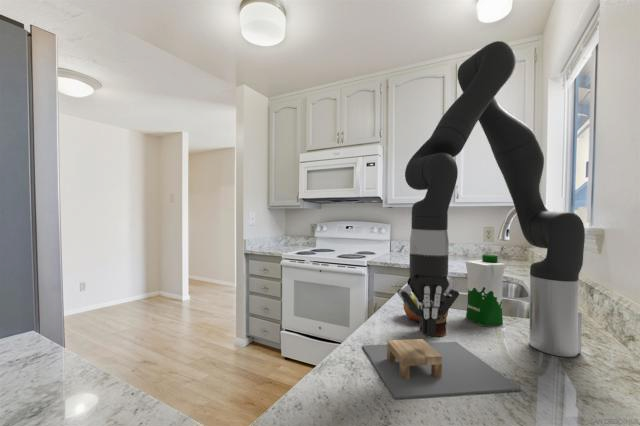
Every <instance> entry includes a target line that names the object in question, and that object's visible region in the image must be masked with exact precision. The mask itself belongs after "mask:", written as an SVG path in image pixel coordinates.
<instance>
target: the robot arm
mask: <svg viewBox="0 0 640 426" xmlns="http://www.w3.org/2000/svg"><path fill="white" fill-rule="evenodd" d="M516 66H517V57H516V53H515V51H514V49H513V47H511V45H509V43H506V42H505V41H500V40H498V41H492V42H490V43H488V44H486V45H485V46H483V47H482V48H480V49H479V50H478V51H477V52H475V53H474V54H473V55H471V56H469V58H467V59H465V61H463V62H462V63H461V64H460V65H459V67H458V69H457V81H458V84H459V87H460V89H461V92H462V93H461V94H460V95H459V97H458V98H457V99H456V100H455V101H454V102H453V103H452V104H451V106H449V107H448V109H447V110H446V112H445V113H443V115H442V117H441V118H440V120H439V121H438V123H437V125H436V127H435V129H434V130H433V132H432V134H431V136H430V137H428V139H427V140H426V141H425V142H424V143H423V144H422V145H421V146H420V147H419V149H418V150H417V151H416V152H414V154H413V155H412V156H411V157H410V159H409V161H408V163H407V164H406V168H405V172H404V180H405V182H406V184H407V185H408V187H410V188H411V189H413V190H416V191H425V190H426V194H425V195H424V198H423V199H421V200H418V201H416V202H415V203H414V204H413V205H412V207H411V231H410V237H409V267H408V269H409V270H408V272H409V278H408V279H407V285H406V286H404V287H403V288H402V289H401V288H399V289H397V294H398V296H399V297H400V299H401V300H402V301H403V304H404V303H405V304H406V305H407V307H408V308H409V310H410V311H411V312H412V313H414V314H415V315H416V316H419V317H420V322H419V328H418V330H419V331H420V333H421V334H422V335H423V336H424V337H426V338H433V337H434V335H433V334H435V332H436V318H437V317H438V316H440V315H442V316H443V315H445V314H446V312H447V311H448V312H449V311H450V308H451V307H452V306H453V304H454V303H455V301H456V300H457V298H459V296H460V292H459V291H457V290H456V289H454V288H452V287H451V286H450V282H449V280H448V275H449V250H450V248H449V246H450V244H449V243H450V242H449V235H448V234H449V233H448V226H449V225H448V224H449V223H448V220H449V219H448V217H449V216H448V211H449V207H450V204H451V202H452V197H453V194H454V191H455V187H456V186H457V180H458V175H459V174H458V171H459V170H458V166H457V163H456V160H455V159H454V157H457V156H458V155H459V154H461V152H462V150H463V148H464V147H465V145H466V143H467V141H468V139H469V137H470V136H471V133H472V132H473V131H474V128H475V126H476V124H477V123H478V122H479V124H480V127H481V128H482V131H483V132H484V135H485V137H486V140H487V142H488V144H489V146H490V149H491V152H492V154H493V157H494V160H495V161H496V164H497V166H498V168H499V170H500V172H501V175H502V177H503V179H504V182H505V184H506V186H507V189H508V193H509V194H510V198H511V200H512V202H513V206H514V208H515V211H516V212H515V213H516V216H517V219H518V223H519V226H520V229H521V232H522V235H523V236H524V239H525V240H526V242H528V243H529V245H531V246H533V247H536V248H540V249H546V250H547V251H546V256H545V258H544V259H543V260H540V261H537V262H533V263H531V264H530V267H529V325H528V326H529V327H528V328H529V329H528V330H529V332H528V333H529V334H528V335H529V338H528V339H529V346H531V347H532V348H534V349H536V350H537V351H539V352H542V353H545V354H549V355H552V356H557V357H562V358H563V357H564V358H573V357H577V356H578V354H582V331H583V330H582V328H583V327H582V323H583V322H582V319H583V318H582V315H583V313H582V312H581V311H580V310H579V278H580V277H579V275H580V273H581V271H582V268H583V263H584V254H585V253H584V251H585V239H586V238H585V237H586V235H585V234H586V232H585V226H584V223H583V222H584V221H583V220H582V218H581V217H580V215H578V214H577V213H574V212H572V211H559V210H558V211H548V210H547V208H546V206H545V204H544V202H543V198H542V196H541V193H540V184H541V179H542V176H543V170H544V165H545V158H544V152H543V150H542V148H541V145H540V143H539V141H538V138H537V136H536V132H534V130H533V129H532V128H531V127H529V126H528V125H527V124H526V123H525V122H523V121H522V120H520V119H518V118H517V117H515V116H513V115H512V114H510V113H509V112H507V111H506V110H505V109H504V108H503V107H502V106H501V105H500V103H499V102H498V100H497V98H496V95H497V94H498V93H499V91H500V90H501V89H502V88H503V87H504V85H506V84H507V82H508V80H509V79H510V78H511V77H512V76H513V74H514V72H515V69H516V68H517V67H516ZM412 294H414V295H415V297H416V299H417V304H418V307H417V306H416V304H415V303H414V302H413V300H412V299H411V297H412ZM443 294H444V295H443ZM442 295H443V296H442ZM441 297H442V298H441ZM440 298H441V299H440Z"/></svg>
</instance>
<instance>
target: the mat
mask: <svg viewBox="0 0 640 426" xmlns="http://www.w3.org/2000/svg"><path fill="white" fill-rule="evenodd" d="M426 343H427V344H429V345H430V346H431V347H432V348H433V349H434V350H435V351H437V352H438V353H439V354H440V355H441V356H442V377H436V378H435V377H434V376H433V375H432V374H431V365H415V366H410V367H409V379H402V378H401V377H400V376H399V365H400V362H399V361H398V360H397V359H396V362H389V361H388V360H387V344H386V343H385V344H363V345H362V349H363V350H364V351H365V353H366V355H367V356H368V358H369V360H370V362H371V363H372V365H373V366H374V368H375V369H376V371H377V372H378V375H379V376H380V377H381V379H382V381H383V383H384V384H385V385H386V387H387V389H388V390H389V392H390V394H391V395H392V396H393V399H394V400H401V399H414V398H415V399H417V398H431V397H446V396H448V397H449V396H461V395H476V394H491V393H492V394H493V393H505V392H507V393H508V392H520V391H522V388H521V387H519V386H518V385H517V384H516V383H514V382H513V381H512V380H510V379H509V378H507V377H506V376H504V375H503V374H501V373H500V372H499V371H498V370H496V369H495V368H494V367H492V366H491V365H489V364H488V363H487V362H485V361H483V360H482V359H481V358H479V357H478V356H476V355H475V354H474V353H472V352H471V351H470V350H468V348H466V347H464V346H463V345H461V344H460V343H458V342H457V341H443V342H441V341H440V342H439V341H438V342H436V341H435V342H426Z"/></svg>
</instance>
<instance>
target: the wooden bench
mask: <svg viewBox="0 0 640 426" xmlns="http://www.w3.org/2000/svg"><path fill="white" fill-rule="evenodd" d="M427 343H428V342H427V341H425V340H424V339H423V338H417V339H415V338H414V339H392V340H391V339H388V340H387V360H388V361H389V362H396V359H397V360H398V361H399V362H400V365H399V376H400V377H401V378H402V379H409V367H410V366H415V365H431V374H432V375H433V376H434V377H435V378H436V377H442V356H441V355H440V354H439V353H438V352H437V351H435V350H434V349H433V348H432V347H431V346H430V345H429V344H427Z"/></svg>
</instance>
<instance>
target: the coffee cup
mask: <svg viewBox="0 0 640 426" xmlns="http://www.w3.org/2000/svg"><path fill="white" fill-rule="evenodd" d="M443 295H444V294H443ZM443 295H442V296H443ZM441 298H442V297H441ZM441 298H440V299H441ZM448 313H449V310H448V311H447V312H446V314H445V315H443V316H442V315H440V316H438V317H437V318H436V332H435V334H433V337H435V336H437V337H439V336H440V337H441V336H442V337H443V336H446V335H447V334H448V333H447V327H446V326H447V321H448V320H447V318H448Z"/></svg>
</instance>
